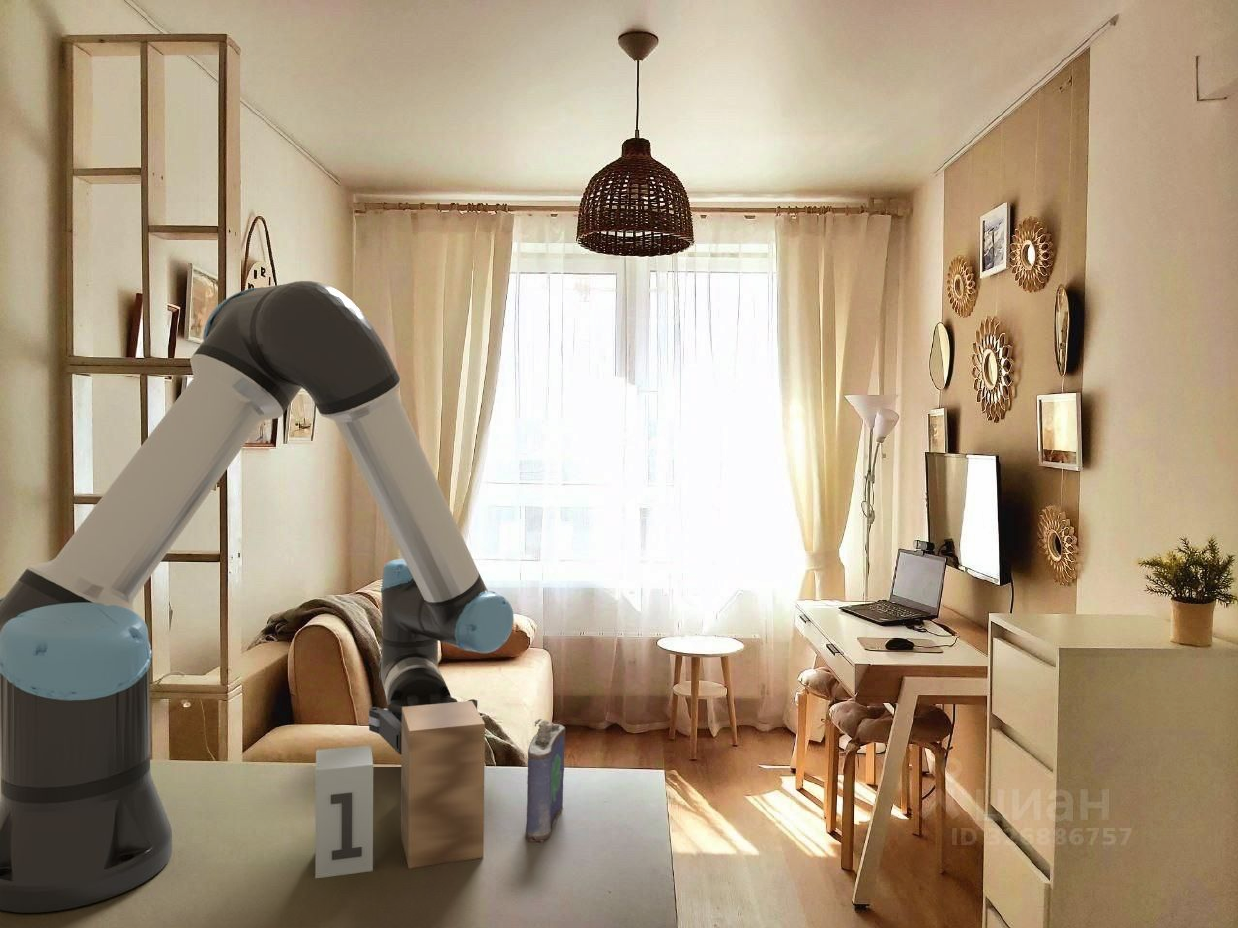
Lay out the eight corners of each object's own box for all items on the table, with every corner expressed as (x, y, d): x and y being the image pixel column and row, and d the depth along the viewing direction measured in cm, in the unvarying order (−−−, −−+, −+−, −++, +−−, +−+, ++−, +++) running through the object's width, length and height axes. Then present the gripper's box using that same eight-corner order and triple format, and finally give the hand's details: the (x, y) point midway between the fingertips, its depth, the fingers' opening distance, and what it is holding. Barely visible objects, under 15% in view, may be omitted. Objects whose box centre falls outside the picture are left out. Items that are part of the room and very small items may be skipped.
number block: (315, 879, 81) (315, 771, 81) (316, 852, 86) (316, 750, 86) (372, 871, 83) (373, 765, 82) (370, 845, 88) (370, 745, 87)
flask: (547, 843, 89) (548, 737, 88) (518, 841, 89) (519, 735, 89) (566, 804, 98) (567, 707, 97) (540, 801, 98) (541, 705, 98)
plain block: (408, 868, 83) (409, 730, 83) (400, 834, 90) (401, 706, 89) (483, 857, 86) (484, 723, 85) (470, 824, 92) (471, 700, 92)
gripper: (468, 719, 116) (505, 794, 94) (363, 729, 112) (375, 810, 89) (469, 662, 115) (506, 723, 93) (363, 670, 111) (376, 736, 89)
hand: (442, 766), depth 91 cm, fingers closed
